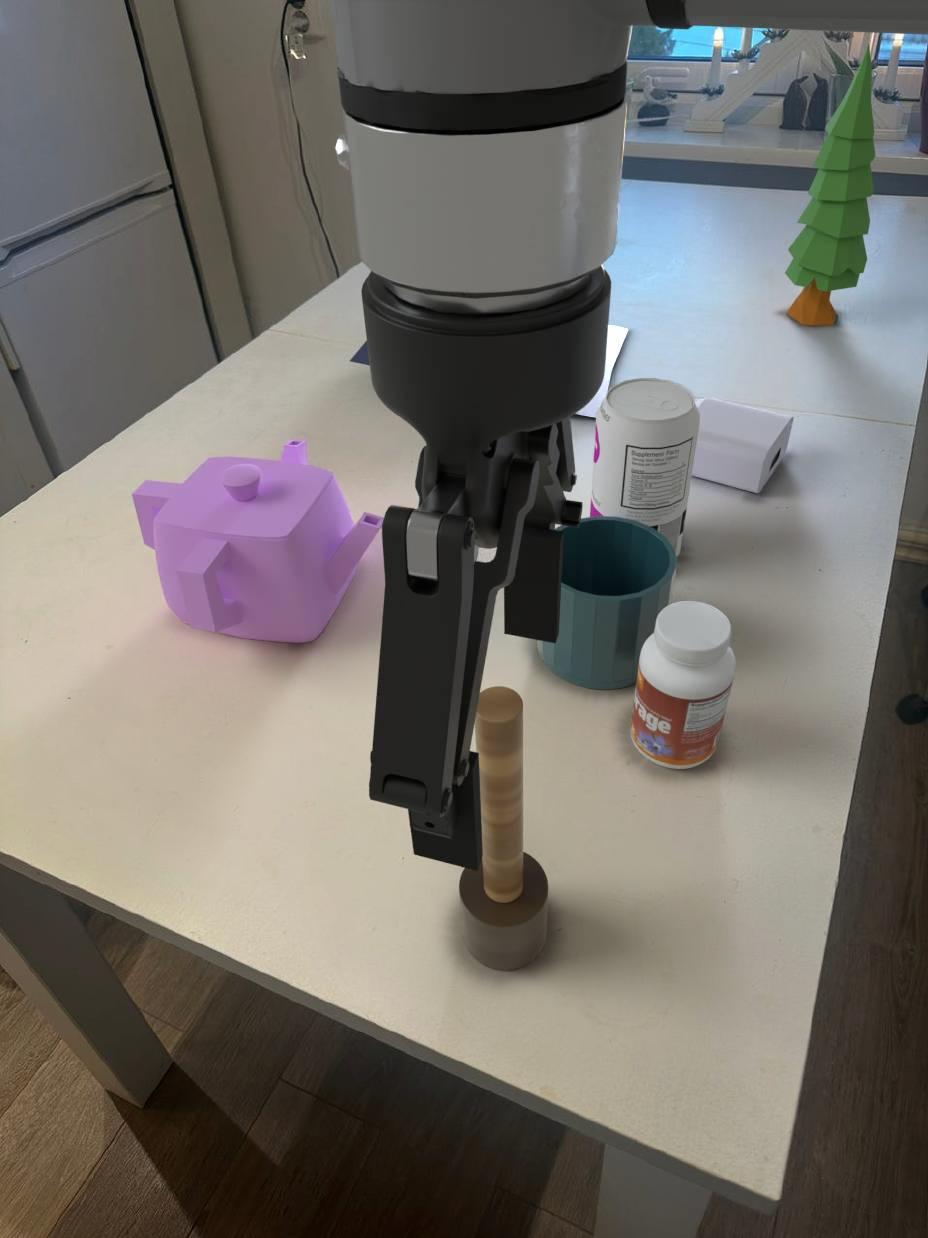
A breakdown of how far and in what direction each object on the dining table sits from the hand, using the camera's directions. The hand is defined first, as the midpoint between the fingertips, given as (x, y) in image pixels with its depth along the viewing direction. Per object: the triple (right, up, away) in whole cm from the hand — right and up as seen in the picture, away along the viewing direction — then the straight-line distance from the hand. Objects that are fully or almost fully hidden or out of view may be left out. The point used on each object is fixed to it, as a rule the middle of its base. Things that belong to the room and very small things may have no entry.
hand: (494, 732), depth 40 cm
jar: (+9, +3, +30) cm, 31 cm away
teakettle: (-18, +8, +37) cm, 42 cm away
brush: (+1, -13, +12) cm, 18 cm away
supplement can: (+14, +11, +39) cm, 43 cm away
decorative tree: (+44, +44, +73) cm, 97 cm away
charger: (+23, +22, +50) cm, 59 cm away
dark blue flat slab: (+2, +37, +68) cm, 77 cm away
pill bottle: (+14, -3, +22) cm, 26 cm away
